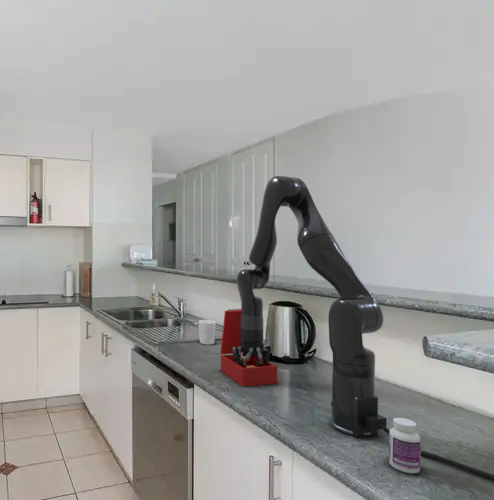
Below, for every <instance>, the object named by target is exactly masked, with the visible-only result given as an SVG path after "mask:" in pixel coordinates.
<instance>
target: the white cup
mask: <svg viewBox="0 0 494 500" xmlns="http://www.w3.org/2000/svg"><path fill="white" fill-rule="evenodd" d="M216 325H217V322H216V320H212V319H199V320H198V338H199V343H200V344H201V345H214V344H215V342H216V341H215V340H216V327H217V326H216Z"/></svg>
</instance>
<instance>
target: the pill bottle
mask: <svg viewBox="0 0 494 500" xmlns="http://www.w3.org/2000/svg"><path fill="white" fill-rule="evenodd" d="M392 425H393V427H391V428H390V429H389V430H390V431H389V435H388V436H389V437H388V462H389V464H390V466H391V467H393V468H394V469H395V470H397V471H400V472H402V473H406V474H418V473H419V472H420V471H421V455H420V451H421V445H422V444H421V443H422V442H421V436H420V435H419V434H418V432H417V430H418V429H417V427H418V425H417V423H416V422H415V421H413V420H412V419H408V418H404V417H394V418H393V419H392Z"/></svg>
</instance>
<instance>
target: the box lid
mask: <svg viewBox="0 0 494 500" xmlns="http://www.w3.org/2000/svg"><path fill="white" fill-rule="evenodd" d="M240 320H241V308H232V309H227V310H224V316H223V323H222V333H221V342H220V351H219V352H220V353H219V354H220V355H233V351H232V347H233V346H234V347H237V346H239V345H240V343H241V339H240ZM239 354H242V350H240V353H239Z"/></svg>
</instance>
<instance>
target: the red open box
mask: <svg viewBox="0 0 494 500" xmlns="http://www.w3.org/2000/svg"><path fill="white" fill-rule="evenodd" d="M239 354H240V358H241V354H242V353H239ZM245 357H246V355H245ZM256 364H257V362H256V359H255V357H254V356H252V357H250V358H249V361H248V362H247V365H246V366H251V365H254V366H255V367H249V368H243V367H242V366H240V365H238V364H237V363H235V360H234V356H233V354H220V372H221V373H223V374H224V375H226V376H227V377H229V378H230V379H231V380H233V381H234V382H236V383H238V384H239V385H240V386H242V387H249V386H261V385H273V384H277V383H278V366H277V365H276V364H274V363H271V362H270V361H268V363H264V364H263V366H262V367H256Z"/></svg>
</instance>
